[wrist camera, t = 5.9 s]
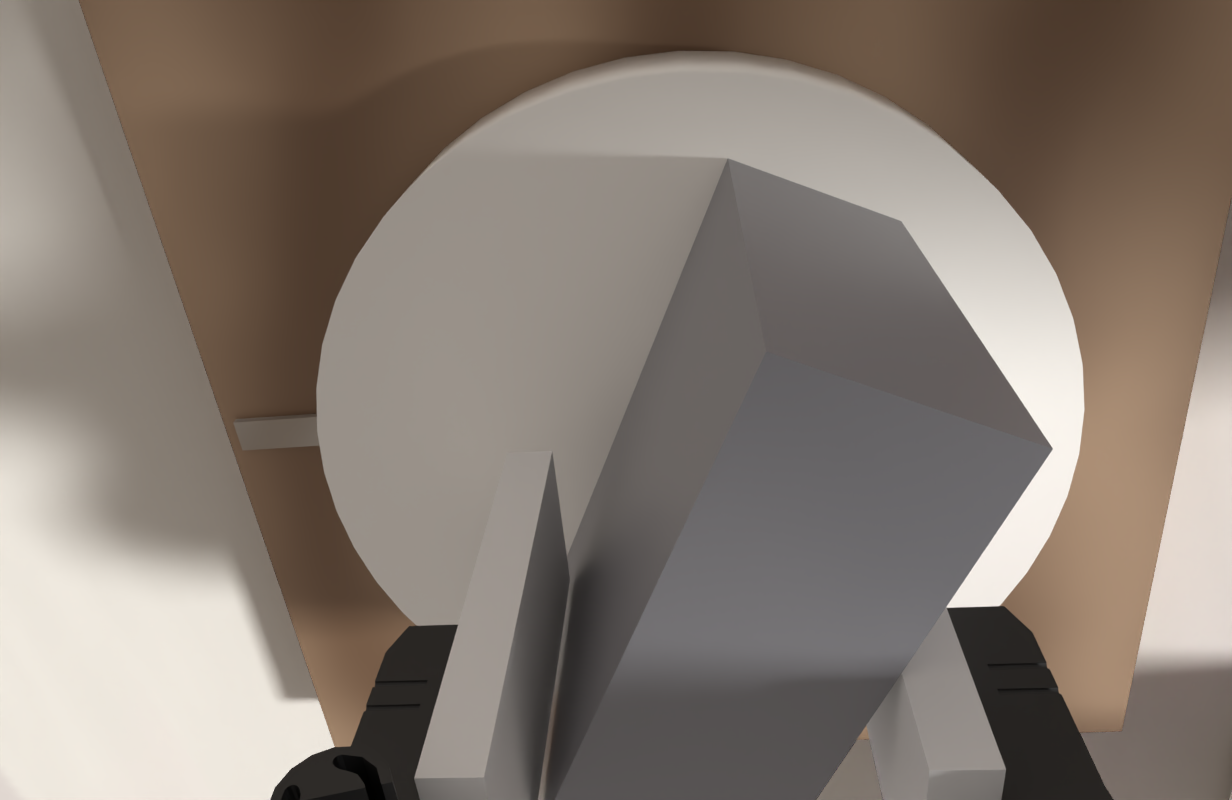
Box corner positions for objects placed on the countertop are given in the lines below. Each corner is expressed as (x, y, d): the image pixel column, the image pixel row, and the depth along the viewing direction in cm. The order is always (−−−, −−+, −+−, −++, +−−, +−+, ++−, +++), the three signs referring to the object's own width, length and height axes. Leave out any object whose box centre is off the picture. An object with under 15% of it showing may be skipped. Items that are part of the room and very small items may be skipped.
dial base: (1248, -220, 16) (1325, -233, 14) (1090, 672, 25) (1124, 735, 23) (112, -84, 18) (47, -79, 16) (359, 700, 27) (336, 760, 25)
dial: (439, -76, 16) (200, -27, 8) (1197, 211, 17) (1648, 498, 9) (294, 565, 22) (85, 949, 14) (852, 729, 24) (942, 1156, 16)
